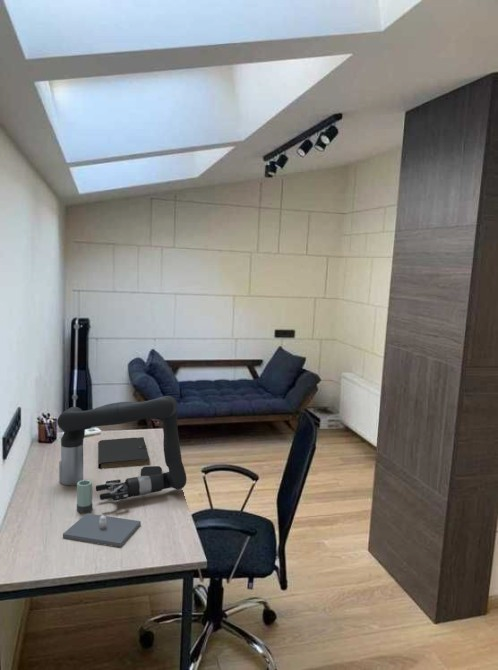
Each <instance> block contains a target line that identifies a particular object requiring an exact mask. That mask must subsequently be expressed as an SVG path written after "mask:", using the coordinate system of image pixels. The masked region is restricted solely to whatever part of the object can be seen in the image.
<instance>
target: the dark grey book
mask: <svg viewBox="0 0 498 670" xmlns="http://www.w3.org/2000/svg"><path fill="white" fill-rule="evenodd" d="M97 446H98V447H97V449H98V451H97V452H98V453H97V458H98V461H97V463H98V464H97V466H98V467H97V468H98V469H99V464H100V469H101V468H104V469H115V468H129V467H141V466H150V455H149V453H148V447H147V444H146V442H145V439H144V436H142V437H141V436H140V437H125V438H111V439H110V438H109V439H102V440H99V441H98V442H97Z"/></svg>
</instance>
